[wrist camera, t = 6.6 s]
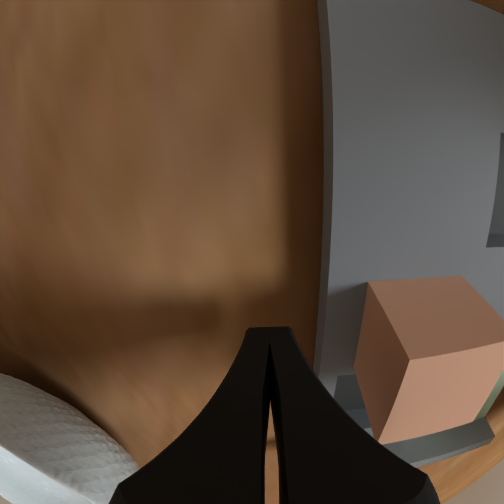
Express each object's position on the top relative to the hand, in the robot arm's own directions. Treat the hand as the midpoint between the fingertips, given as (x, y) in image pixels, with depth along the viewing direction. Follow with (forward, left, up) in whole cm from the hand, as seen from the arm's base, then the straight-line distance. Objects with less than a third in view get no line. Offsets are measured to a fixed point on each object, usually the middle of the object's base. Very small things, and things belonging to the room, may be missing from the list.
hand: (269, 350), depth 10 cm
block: (-5, 0, -1) cm, 6 cm away
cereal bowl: (+15, +11, -3) cm, 19 cm away
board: (-8, -1, -3) cm, 9 cm away
